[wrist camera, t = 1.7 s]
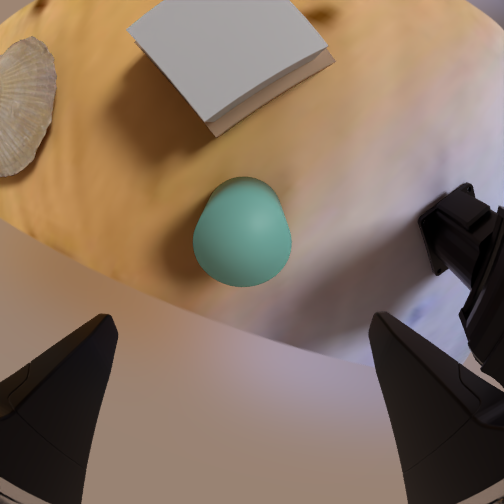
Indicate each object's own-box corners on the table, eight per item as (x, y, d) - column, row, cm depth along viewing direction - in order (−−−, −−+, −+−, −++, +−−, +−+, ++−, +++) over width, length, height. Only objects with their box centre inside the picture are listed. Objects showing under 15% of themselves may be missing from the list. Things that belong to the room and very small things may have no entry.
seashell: (69, 160, 16) (47, 168, 13) (-9, 179, 16) (-28, 188, 13) (74, 23, 11) (53, 15, 8) (-10, 70, 10) (-30, 71, 8)
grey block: (313, 59, 11) (328, 45, 9) (214, 121, 13) (204, 122, 10) (243, -18, 9) (241, -43, 6) (147, 43, 11) (126, 29, 8)
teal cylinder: (295, 220, 18) (309, 255, 14) (236, 258, 20) (233, 301, 15) (252, 161, 17) (253, 177, 12) (191, 206, 18) (173, 236, 13)
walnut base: (322, 70, 14) (336, 61, 11) (221, 134, 16) (216, 137, 14) (249, -12, 11) (248, -32, 8) (151, 52, 13) (134, 42, 11)
